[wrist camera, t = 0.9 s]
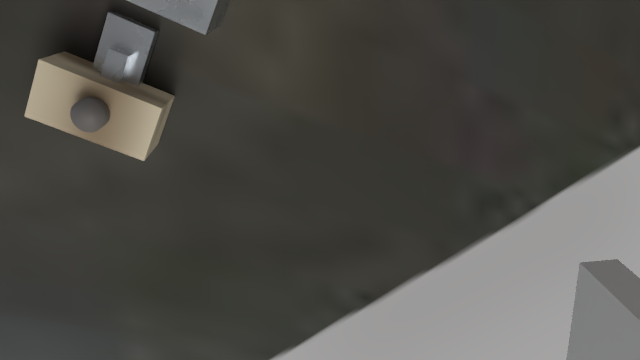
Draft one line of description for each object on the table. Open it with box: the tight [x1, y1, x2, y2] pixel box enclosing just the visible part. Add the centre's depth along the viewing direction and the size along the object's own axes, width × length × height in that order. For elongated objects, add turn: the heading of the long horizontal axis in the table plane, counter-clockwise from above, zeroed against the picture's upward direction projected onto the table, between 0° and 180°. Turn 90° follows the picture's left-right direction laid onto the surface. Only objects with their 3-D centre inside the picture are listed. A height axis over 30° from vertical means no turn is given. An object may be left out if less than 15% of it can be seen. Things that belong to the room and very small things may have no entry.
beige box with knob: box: [25, 51, 175, 161], centre depth 26 cm, size 6×3×4 cm, turn 66°
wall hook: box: [92, 11, 159, 86], centre depth 26 cm, size 2×4×2 cm, turn 156°
